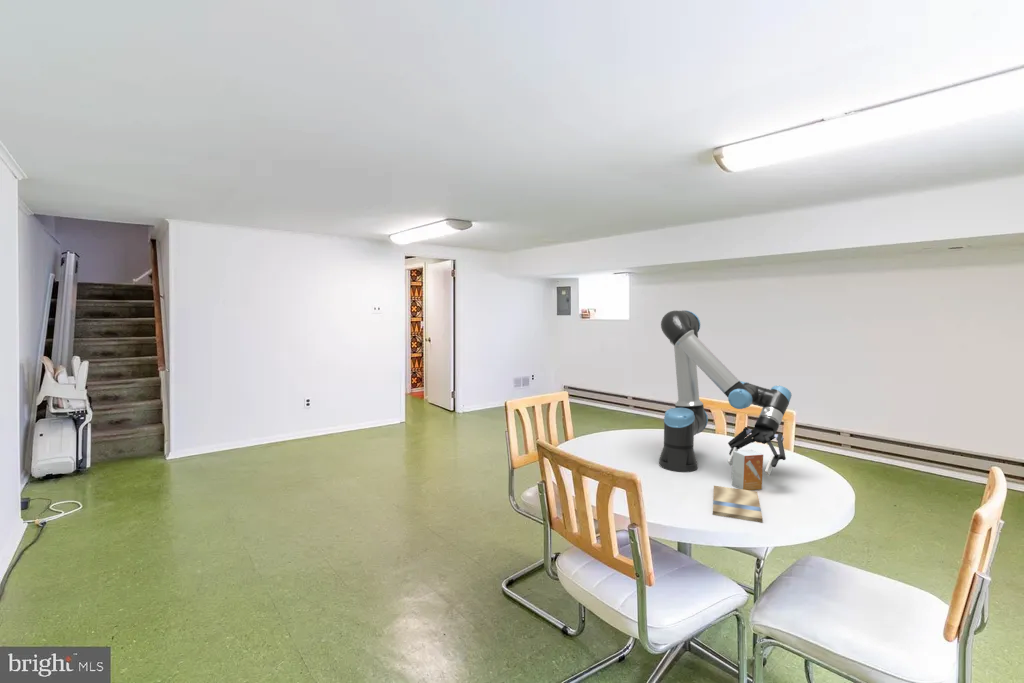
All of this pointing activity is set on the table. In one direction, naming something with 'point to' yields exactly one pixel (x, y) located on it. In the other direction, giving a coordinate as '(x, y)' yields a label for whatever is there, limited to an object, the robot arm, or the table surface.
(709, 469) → the table surface
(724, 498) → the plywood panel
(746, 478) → the small box
